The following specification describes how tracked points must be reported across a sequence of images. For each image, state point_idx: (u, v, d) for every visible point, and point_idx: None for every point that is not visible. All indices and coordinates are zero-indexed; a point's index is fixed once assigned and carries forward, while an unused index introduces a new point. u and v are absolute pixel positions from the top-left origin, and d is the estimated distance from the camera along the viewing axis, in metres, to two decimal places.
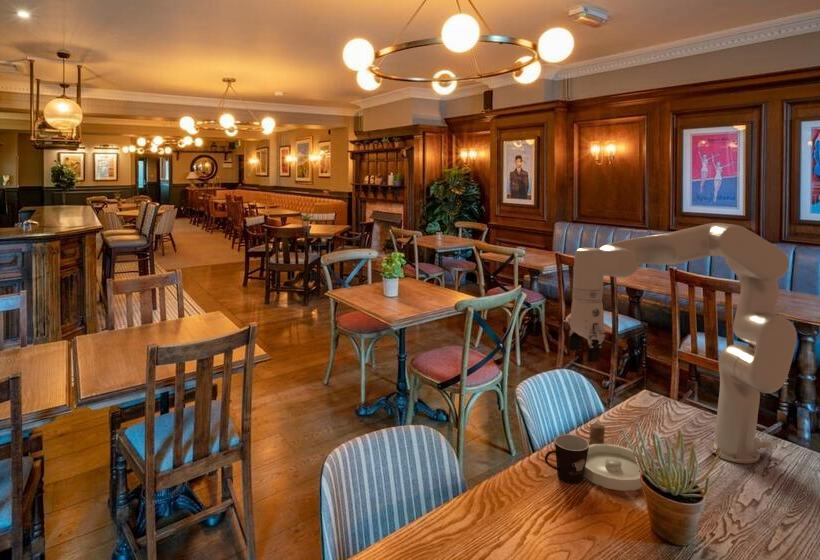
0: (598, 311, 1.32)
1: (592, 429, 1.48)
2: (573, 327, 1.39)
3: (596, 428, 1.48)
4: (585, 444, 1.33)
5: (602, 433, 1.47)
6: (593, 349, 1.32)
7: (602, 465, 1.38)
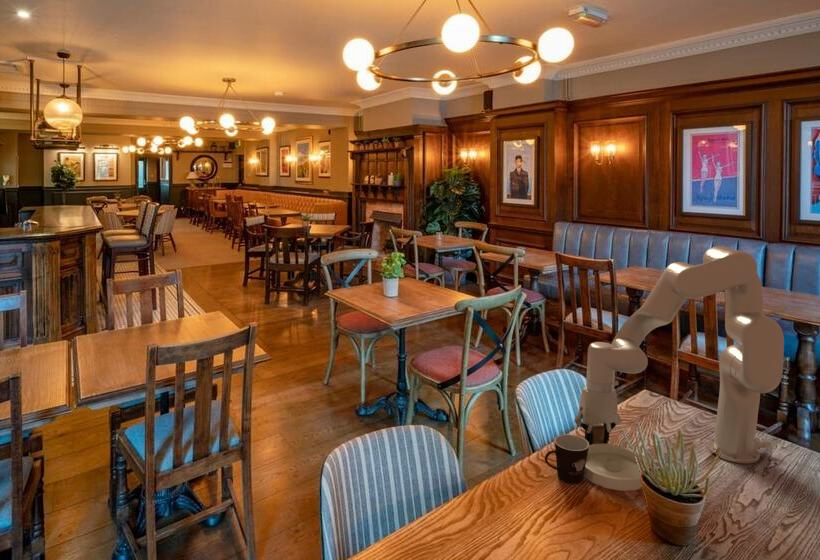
0: None
1: (592, 429, 1.48)
2: (593, 419, 1.46)
3: (596, 428, 1.48)
4: (585, 444, 1.33)
5: (602, 433, 1.47)
6: (608, 432, 1.49)
7: (602, 465, 1.38)
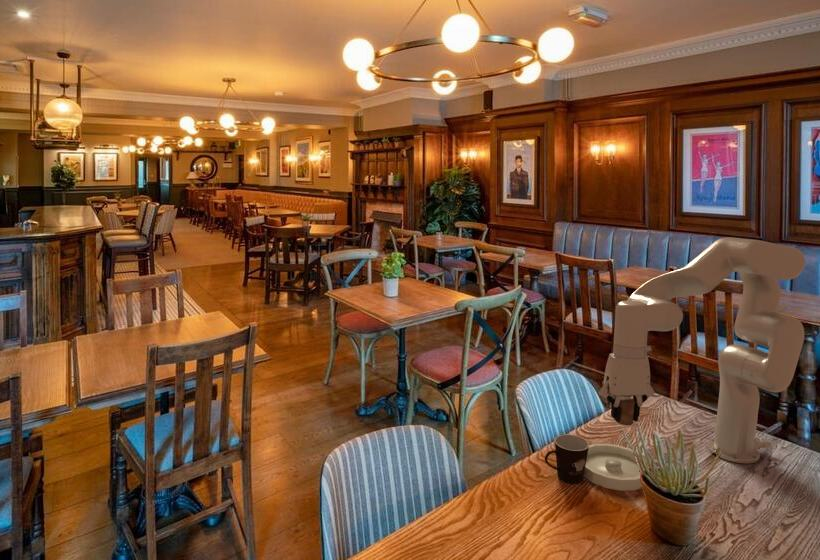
0: None
1: (620, 402, 1.27)
2: (621, 391, 1.25)
3: (625, 401, 1.27)
4: (585, 444, 1.33)
5: (632, 407, 1.26)
6: None
7: (602, 465, 1.38)
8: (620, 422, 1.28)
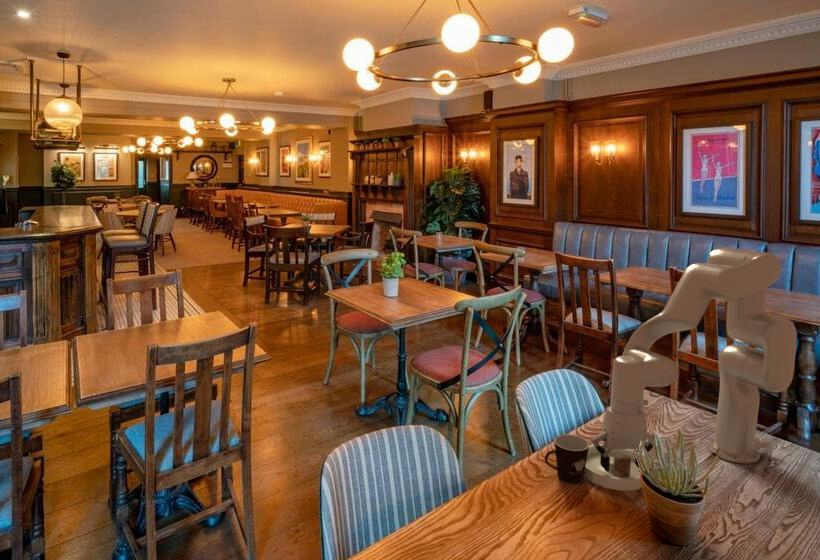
0: None
1: (617, 460, 1.30)
2: (618, 445, 1.27)
3: (621, 459, 1.29)
4: (585, 444, 1.33)
5: (628, 465, 1.29)
6: None
7: None
8: None
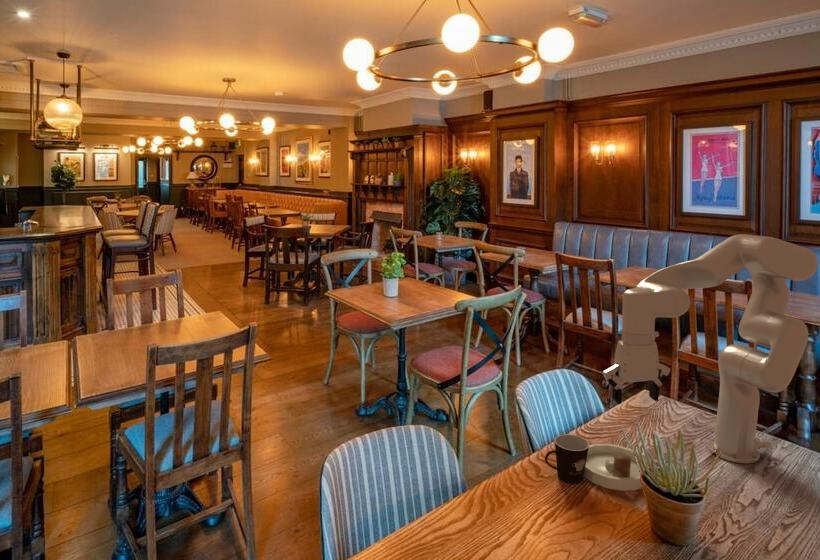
0: None
1: (617, 460, 1.30)
2: (631, 377, 1.28)
3: (621, 459, 1.29)
4: (585, 444, 1.33)
5: (628, 465, 1.29)
6: (659, 386, 1.30)
7: (602, 465, 1.38)
8: None
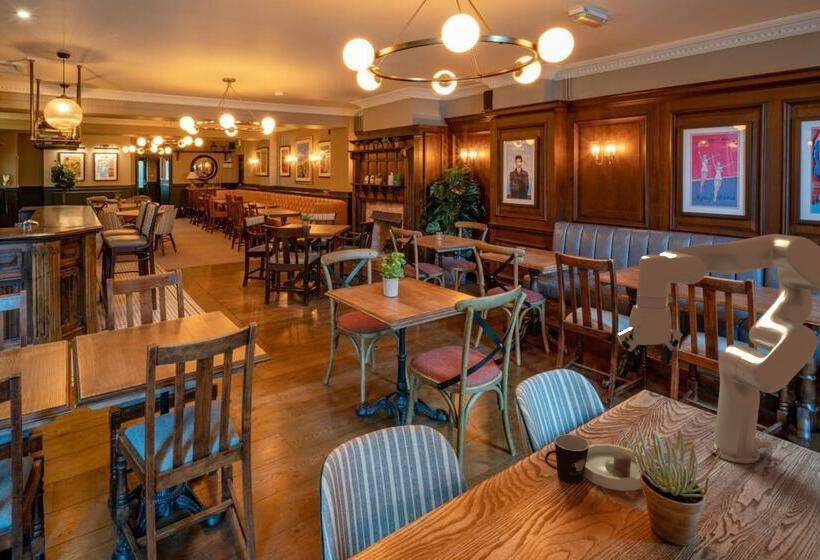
0: None
1: (617, 460, 1.30)
2: (644, 339, 1.33)
3: (621, 459, 1.29)
4: (585, 444, 1.33)
5: (628, 465, 1.29)
6: (670, 350, 1.35)
7: (602, 465, 1.38)
8: None
